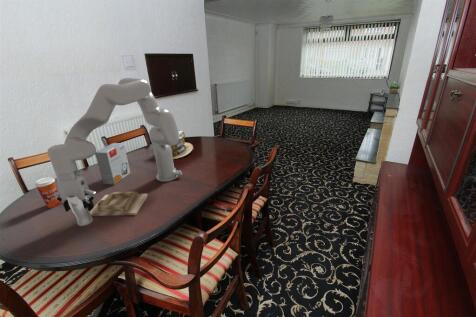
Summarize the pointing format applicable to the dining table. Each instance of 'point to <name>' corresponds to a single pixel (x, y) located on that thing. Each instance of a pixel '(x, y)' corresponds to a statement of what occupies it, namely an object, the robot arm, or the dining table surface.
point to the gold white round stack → (181, 147)
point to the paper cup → (48, 191)
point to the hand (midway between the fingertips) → (80, 209)
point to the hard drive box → (113, 163)
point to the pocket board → (119, 204)
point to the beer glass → (80, 210)
